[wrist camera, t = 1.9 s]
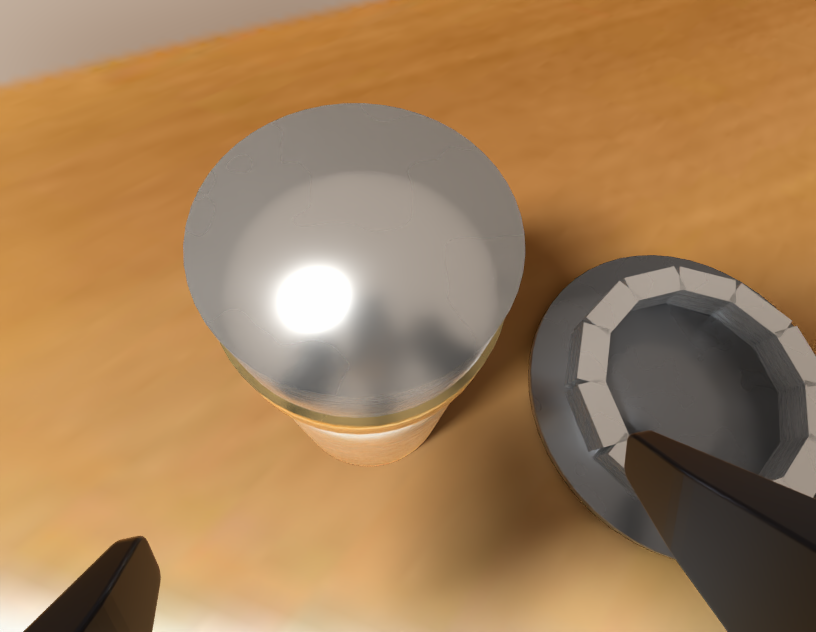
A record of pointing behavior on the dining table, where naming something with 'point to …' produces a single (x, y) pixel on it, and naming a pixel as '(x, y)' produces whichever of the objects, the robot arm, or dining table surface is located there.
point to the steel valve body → (356, 271)
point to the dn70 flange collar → (669, 381)
